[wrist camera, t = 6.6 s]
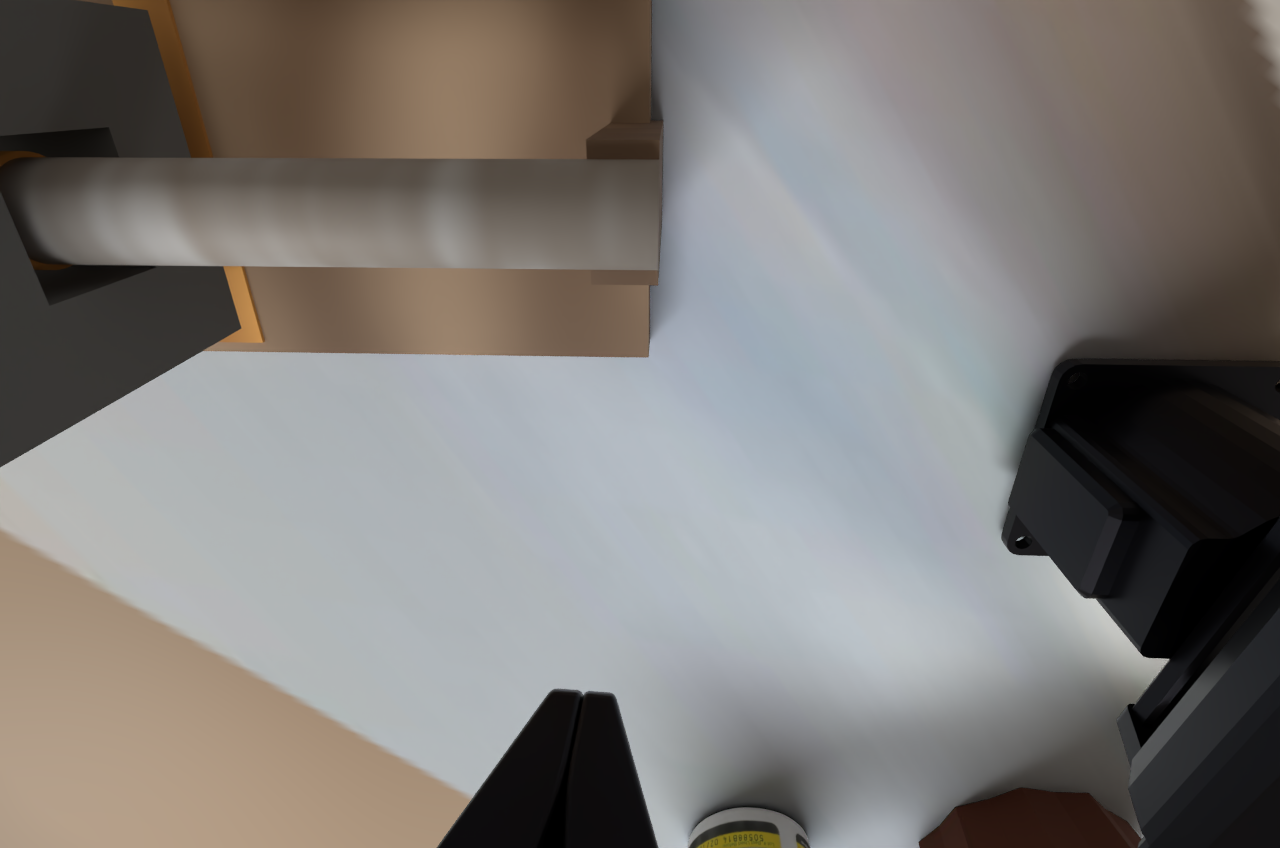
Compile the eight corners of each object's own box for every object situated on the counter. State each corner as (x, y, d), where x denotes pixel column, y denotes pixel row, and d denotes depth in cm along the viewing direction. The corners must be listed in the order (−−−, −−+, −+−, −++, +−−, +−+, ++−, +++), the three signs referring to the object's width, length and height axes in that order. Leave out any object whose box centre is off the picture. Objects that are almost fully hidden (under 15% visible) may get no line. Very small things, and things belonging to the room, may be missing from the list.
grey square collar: (147, 9, 13) (-282, -48, 7) (241, 328, 16) (-5, 469, 10) (30, 10, 13) (-488, -47, 7) (146, 327, 16) (-153, 466, 10)
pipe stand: (665, -45, 14) (662, -140, 8) (660, 342, 19) (655, 472, 12) (-17, -40, 15) (-499, -124, 9) (126, 334, 19) (-135, 455, 13)
